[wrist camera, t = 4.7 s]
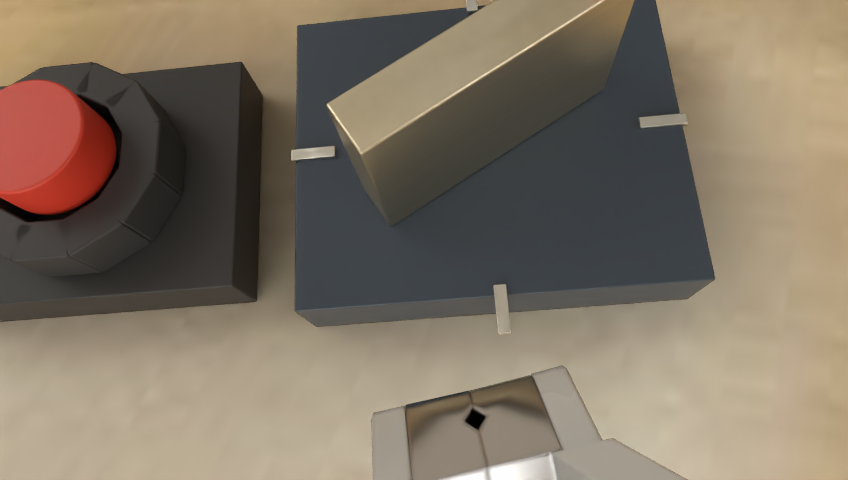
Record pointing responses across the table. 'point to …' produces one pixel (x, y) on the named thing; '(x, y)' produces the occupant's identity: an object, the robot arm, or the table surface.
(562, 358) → the table surface
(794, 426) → the table surface
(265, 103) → the table surface
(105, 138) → the button
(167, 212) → the button box
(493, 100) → the pointer
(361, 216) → the dial panel
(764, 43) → the table surface
